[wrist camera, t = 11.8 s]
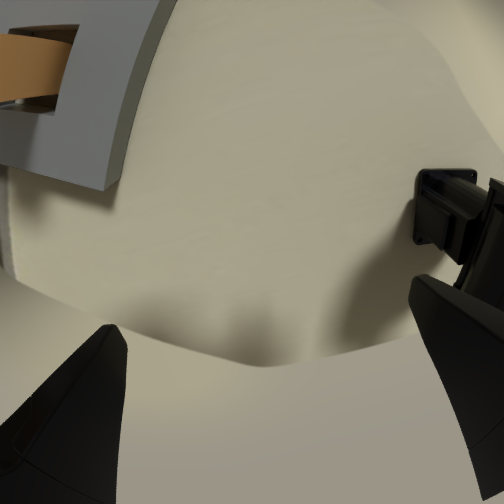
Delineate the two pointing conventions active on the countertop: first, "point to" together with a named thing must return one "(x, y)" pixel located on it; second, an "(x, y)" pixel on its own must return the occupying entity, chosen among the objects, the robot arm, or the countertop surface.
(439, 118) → the countertop surface
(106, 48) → the socket
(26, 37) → the plug
